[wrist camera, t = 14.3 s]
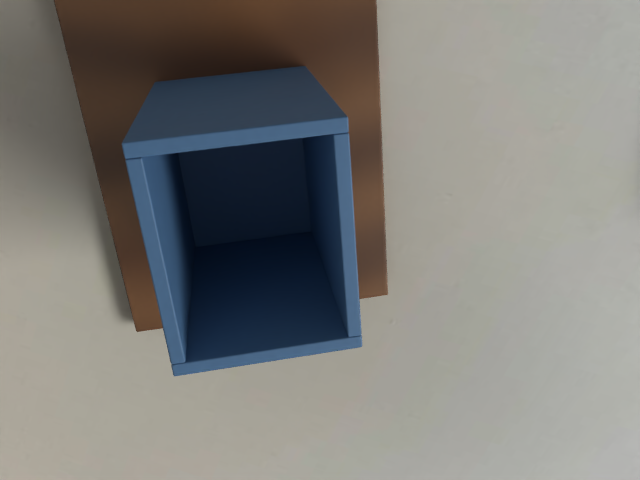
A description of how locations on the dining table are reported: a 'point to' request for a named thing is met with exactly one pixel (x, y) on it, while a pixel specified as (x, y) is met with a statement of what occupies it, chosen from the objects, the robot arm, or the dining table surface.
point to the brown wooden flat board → (219, 59)
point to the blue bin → (247, 217)
